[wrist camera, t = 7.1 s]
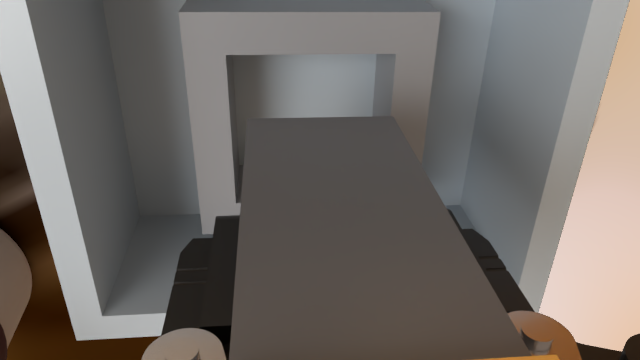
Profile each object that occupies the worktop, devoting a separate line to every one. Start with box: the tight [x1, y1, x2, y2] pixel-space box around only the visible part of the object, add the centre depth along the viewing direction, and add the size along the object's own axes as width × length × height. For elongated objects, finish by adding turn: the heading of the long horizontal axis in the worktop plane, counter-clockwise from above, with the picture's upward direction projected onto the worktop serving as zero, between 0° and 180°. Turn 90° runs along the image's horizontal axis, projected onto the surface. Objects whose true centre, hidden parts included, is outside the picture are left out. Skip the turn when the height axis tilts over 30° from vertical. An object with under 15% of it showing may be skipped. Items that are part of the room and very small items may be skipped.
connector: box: [229, 116, 560, 360], centre depth 11 cm, size 4×4×10 cm
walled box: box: [0, 0, 630, 340], centre depth 18 cm, size 14×16×7 cm
